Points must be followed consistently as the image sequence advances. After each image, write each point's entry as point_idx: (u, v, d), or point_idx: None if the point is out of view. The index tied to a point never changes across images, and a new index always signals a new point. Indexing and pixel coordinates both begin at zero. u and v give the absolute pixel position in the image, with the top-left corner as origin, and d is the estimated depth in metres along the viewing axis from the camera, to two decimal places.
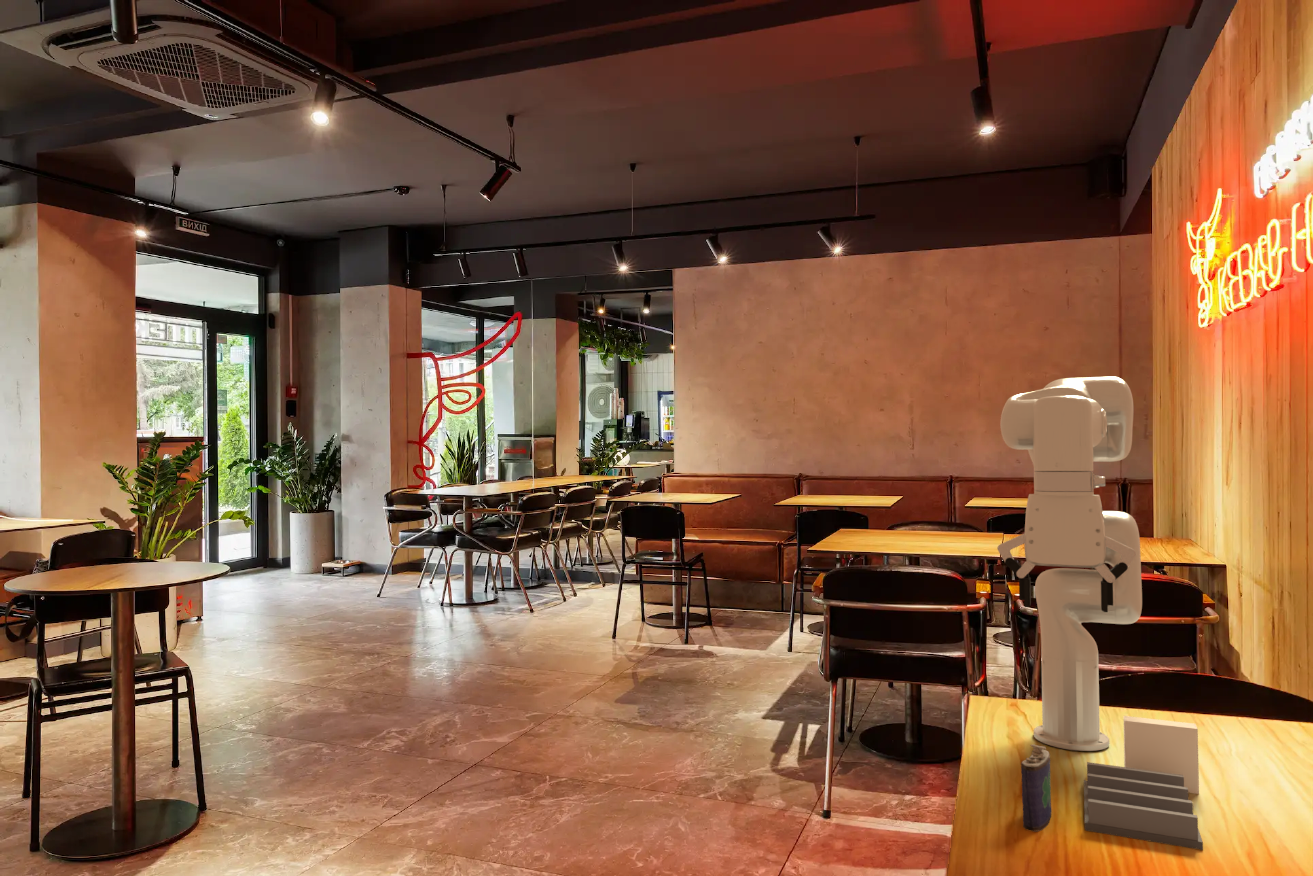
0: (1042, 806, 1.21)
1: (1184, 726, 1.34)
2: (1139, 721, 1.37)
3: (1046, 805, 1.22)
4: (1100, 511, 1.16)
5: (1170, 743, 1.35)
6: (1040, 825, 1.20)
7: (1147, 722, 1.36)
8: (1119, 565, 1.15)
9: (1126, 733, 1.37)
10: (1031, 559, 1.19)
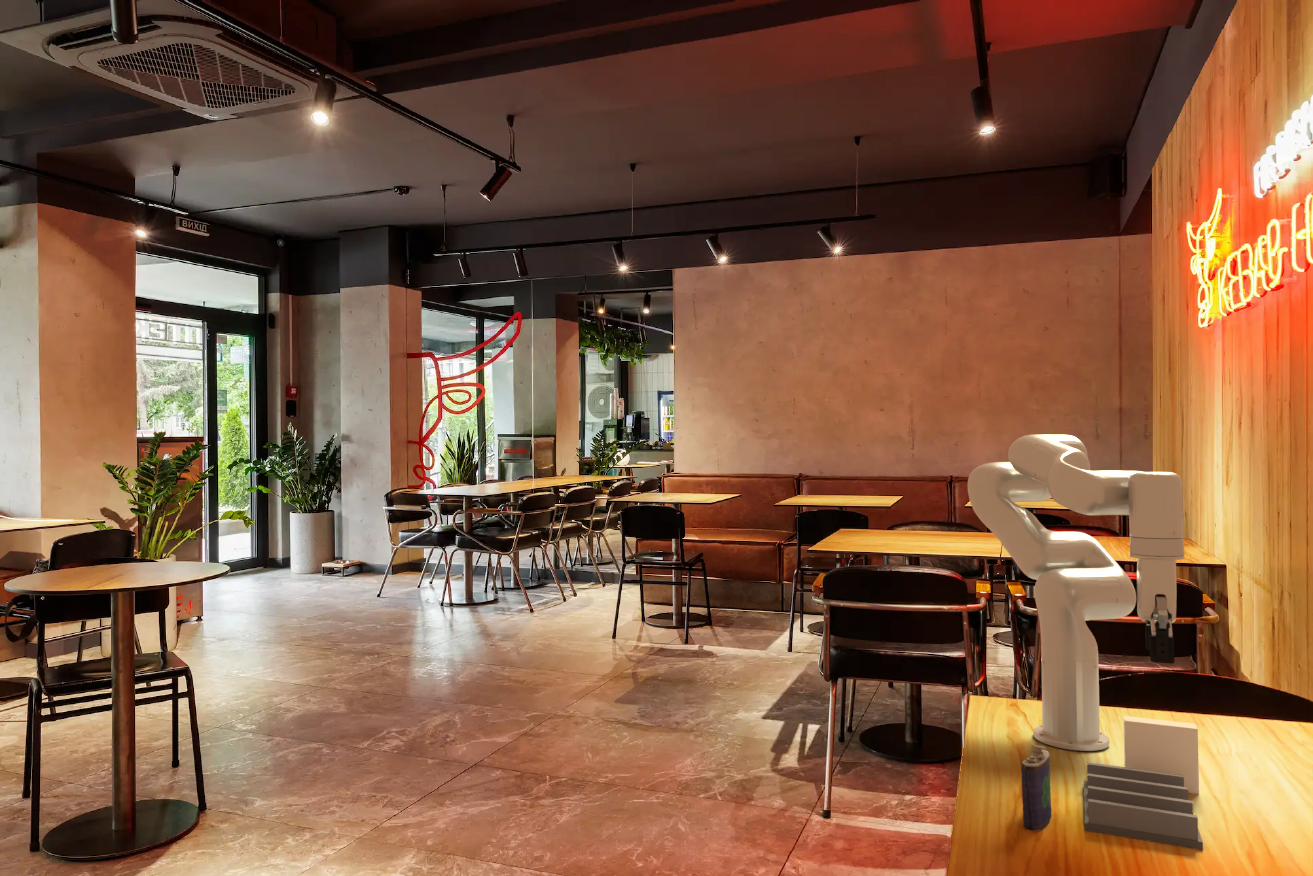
0: (1042, 806, 1.21)
1: (1184, 726, 1.34)
2: (1139, 721, 1.37)
3: (1046, 805, 1.22)
4: None
5: (1170, 743, 1.35)
6: (1040, 825, 1.20)
7: (1147, 722, 1.36)
8: None
9: (1126, 733, 1.37)
10: None
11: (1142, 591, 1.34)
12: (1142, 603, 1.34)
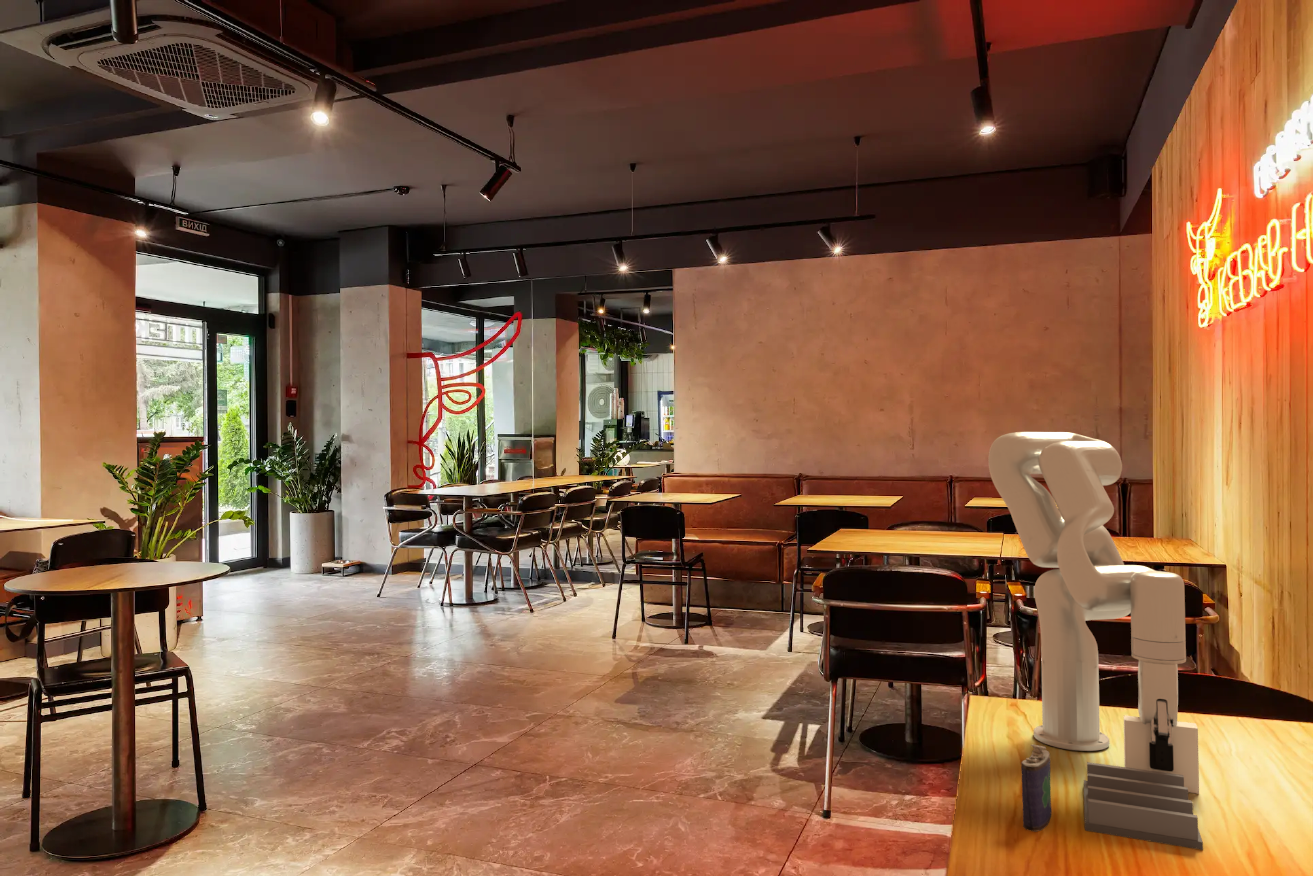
0: (1042, 806, 1.21)
1: (1184, 726, 1.34)
2: (1139, 721, 1.37)
3: (1046, 805, 1.22)
4: None
5: None
6: (1040, 825, 1.20)
7: None
8: None
9: (1126, 733, 1.37)
10: (1176, 723, 1.32)
11: (1143, 695, 1.34)
12: (1143, 707, 1.34)
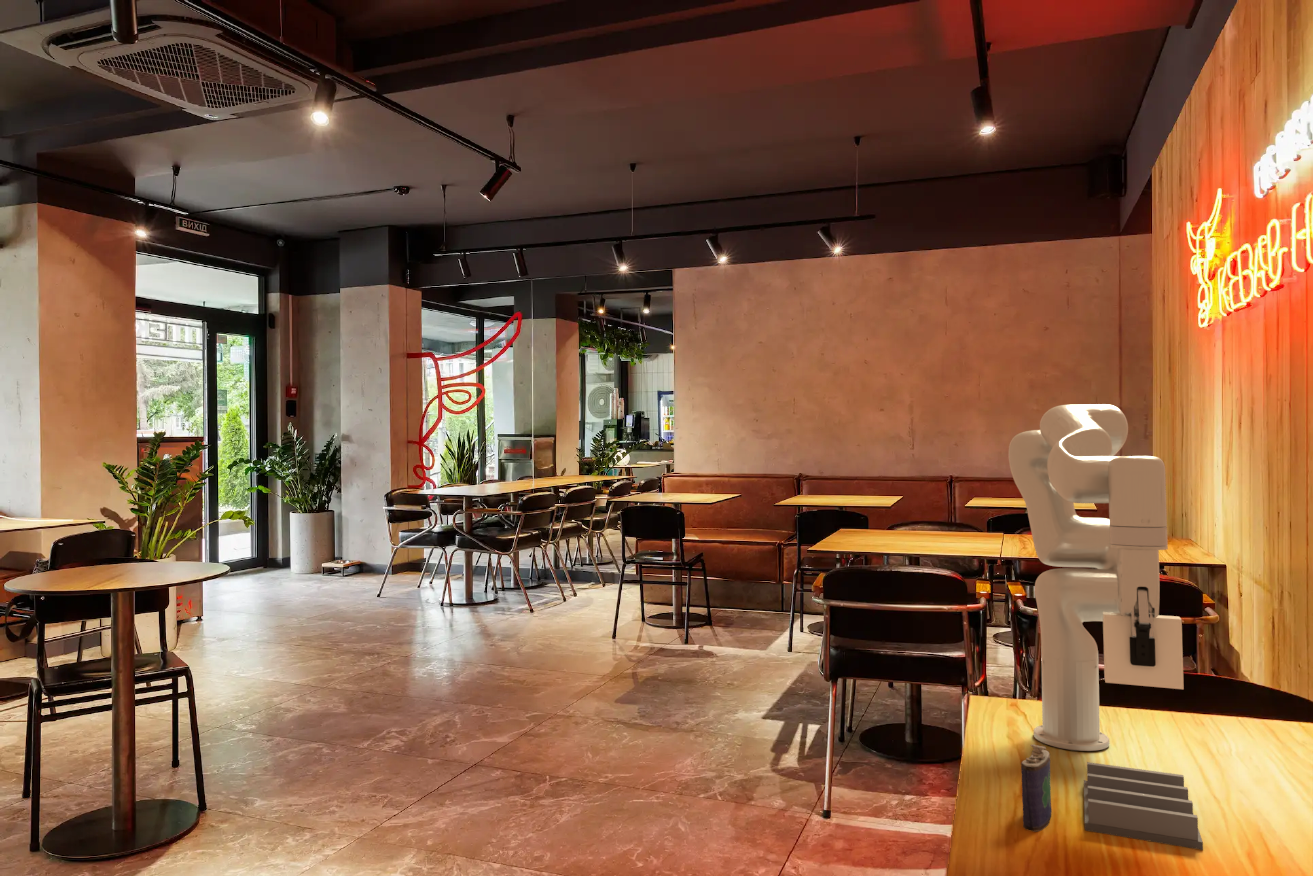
0: (1042, 806, 1.21)
1: (1167, 617, 1.25)
2: (1119, 615, 1.28)
3: (1046, 805, 1.22)
4: None
5: None
6: (1040, 825, 1.20)
7: (1127, 616, 1.27)
8: None
9: (1106, 628, 1.28)
10: None
11: (1123, 583, 1.25)
12: (1123, 596, 1.24)
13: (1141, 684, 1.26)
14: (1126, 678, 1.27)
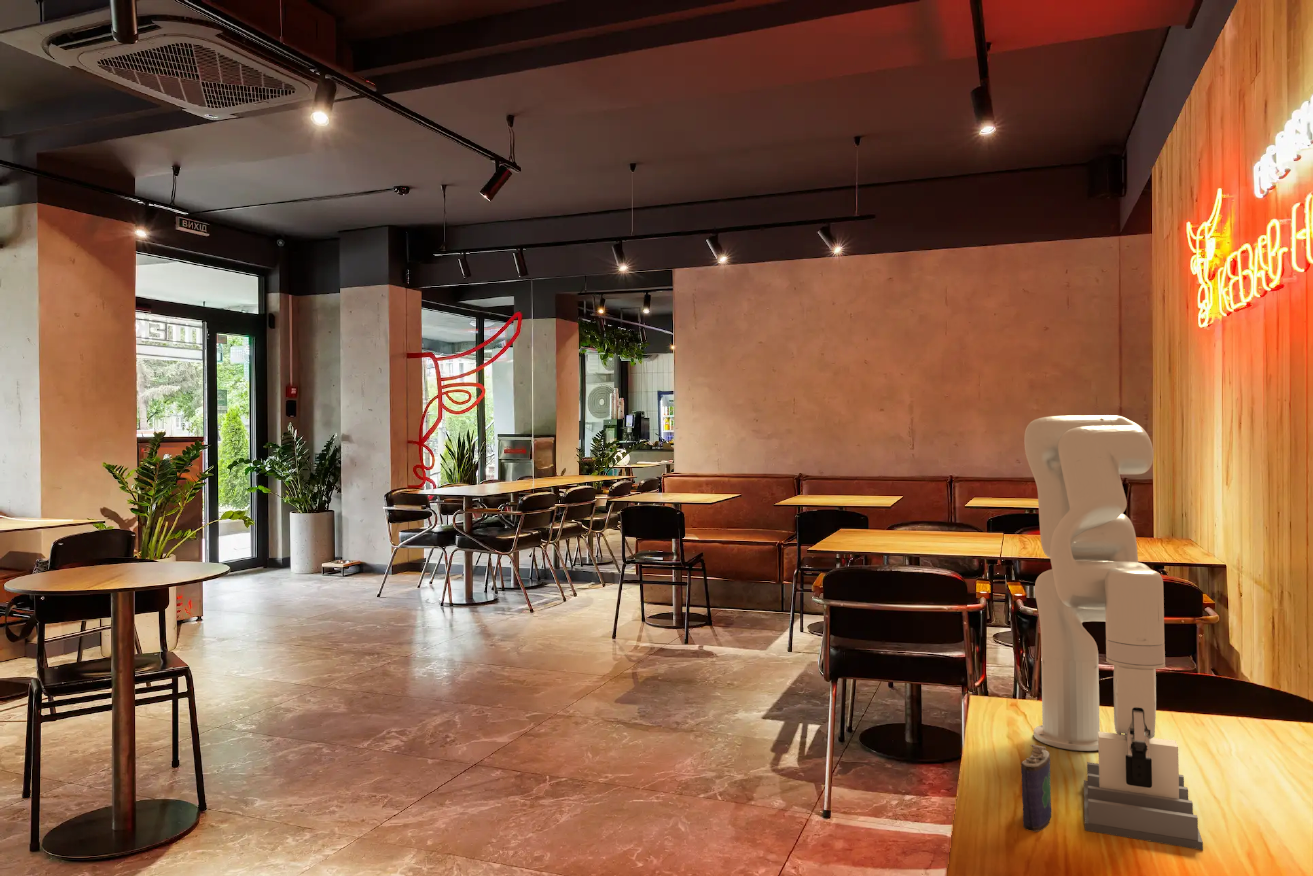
0: (1042, 806, 1.21)
1: (1163, 744, 1.23)
2: (1115, 738, 1.25)
3: (1046, 805, 1.22)
4: None
5: None
6: (1040, 825, 1.20)
7: (1123, 740, 1.25)
8: None
9: (1101, 751, 1.26)
10: None
11: (1118, 703, 1.22)
12: (1118, 716, 1.22)
13: None
14: None
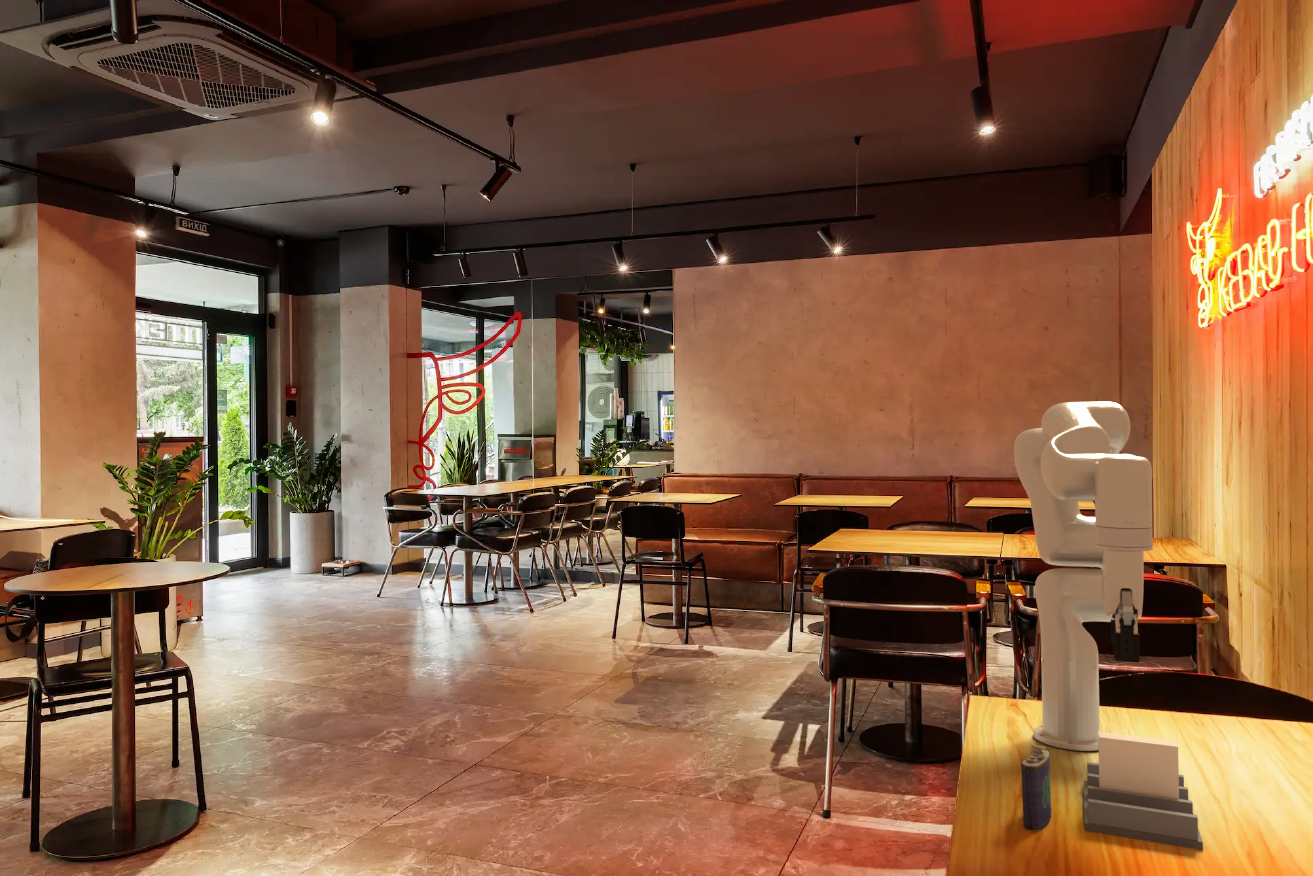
0: (1042, 806, 1.21)
1: (1163, 743, 1.23)
2: (1115, 738, 1.25)
3: (1046, 805, 1.22)
4: None
5: (1148, 762, 1.23)
6: (1040, 825, 1.20)
7: (1123, 739, 1.25)
8: None
9: (1101, 751, 1.26)
10: None
11: (1107, 585, 1.25)
12: (1106, 598, 1.25)
13: None
14: None
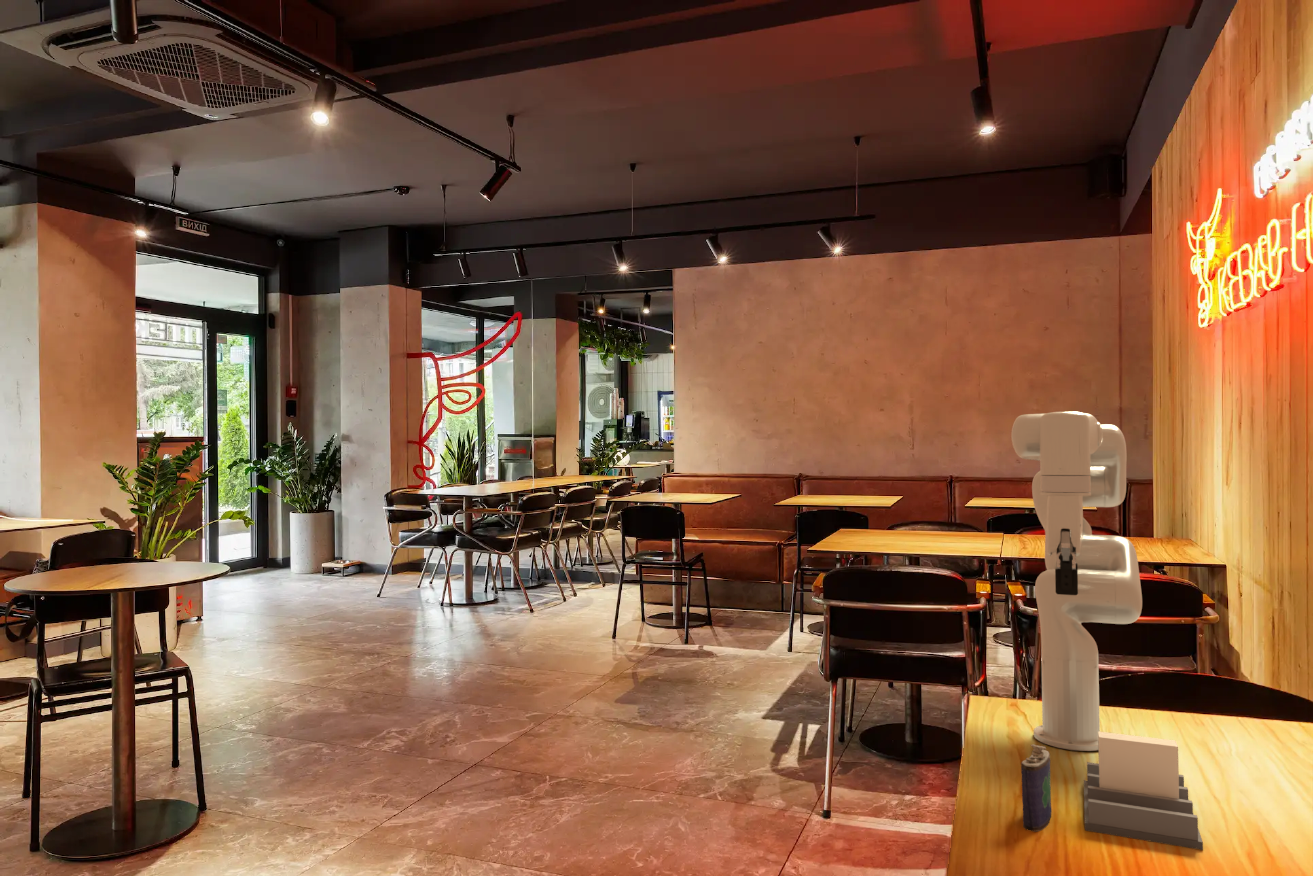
0: (1042, 806, 1.21)
1: (1163, 743, 1.23)
2: (1115, 738, 1.25)
3: (1046, 805, 1.22)
4: None
5: (1148, 762, 1.23)
6: (1040, 825, 1.20)
7: (1123, 739, 1.25)
8: None
9: (1101, 751, 1.26)
10: (1079, 552, 1.37)
11: (1049, 526, 1.38)
12: (1048, 538, 1.38)
13: None
14: None
